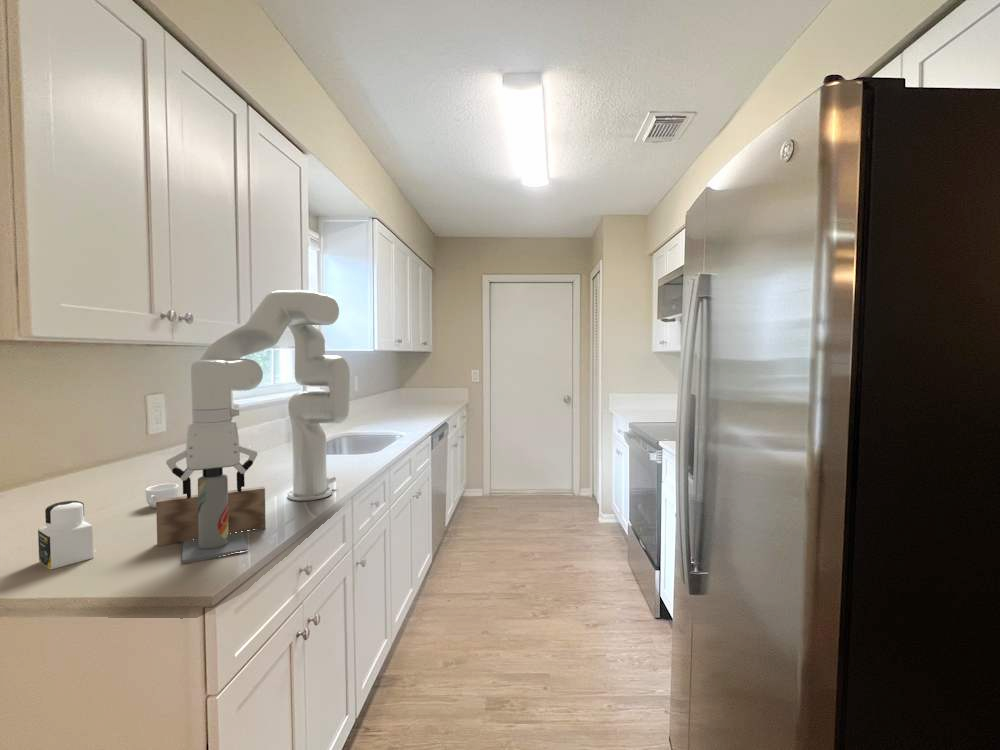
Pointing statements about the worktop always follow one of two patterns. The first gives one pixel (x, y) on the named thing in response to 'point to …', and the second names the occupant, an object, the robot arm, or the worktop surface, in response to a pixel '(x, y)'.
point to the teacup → (161, 493)
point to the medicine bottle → (65, 535)
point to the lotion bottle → (213, 508)
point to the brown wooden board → (182, 515)
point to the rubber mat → (198, 554)
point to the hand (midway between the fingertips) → (214, 493)
